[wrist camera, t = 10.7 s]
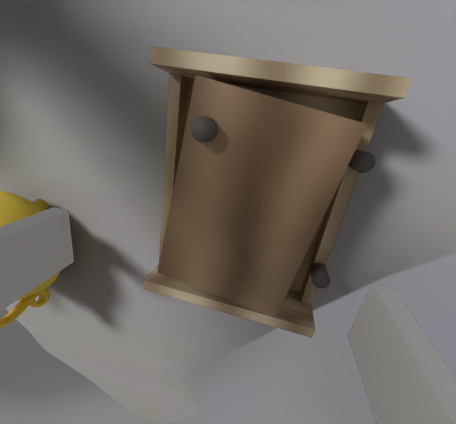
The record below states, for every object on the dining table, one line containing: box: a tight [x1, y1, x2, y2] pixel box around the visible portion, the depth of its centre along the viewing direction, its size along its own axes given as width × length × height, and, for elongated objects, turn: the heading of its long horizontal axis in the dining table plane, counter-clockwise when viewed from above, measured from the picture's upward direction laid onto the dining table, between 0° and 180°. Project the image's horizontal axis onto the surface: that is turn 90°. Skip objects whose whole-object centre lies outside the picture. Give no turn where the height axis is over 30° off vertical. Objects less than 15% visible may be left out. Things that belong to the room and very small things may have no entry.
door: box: [157, 75, 368, 318], centre depth 19 cm, size 11×16×6 cm
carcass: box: [144, 46, 412, 338], centre depth 21 cm, size 16×20×6 cm
